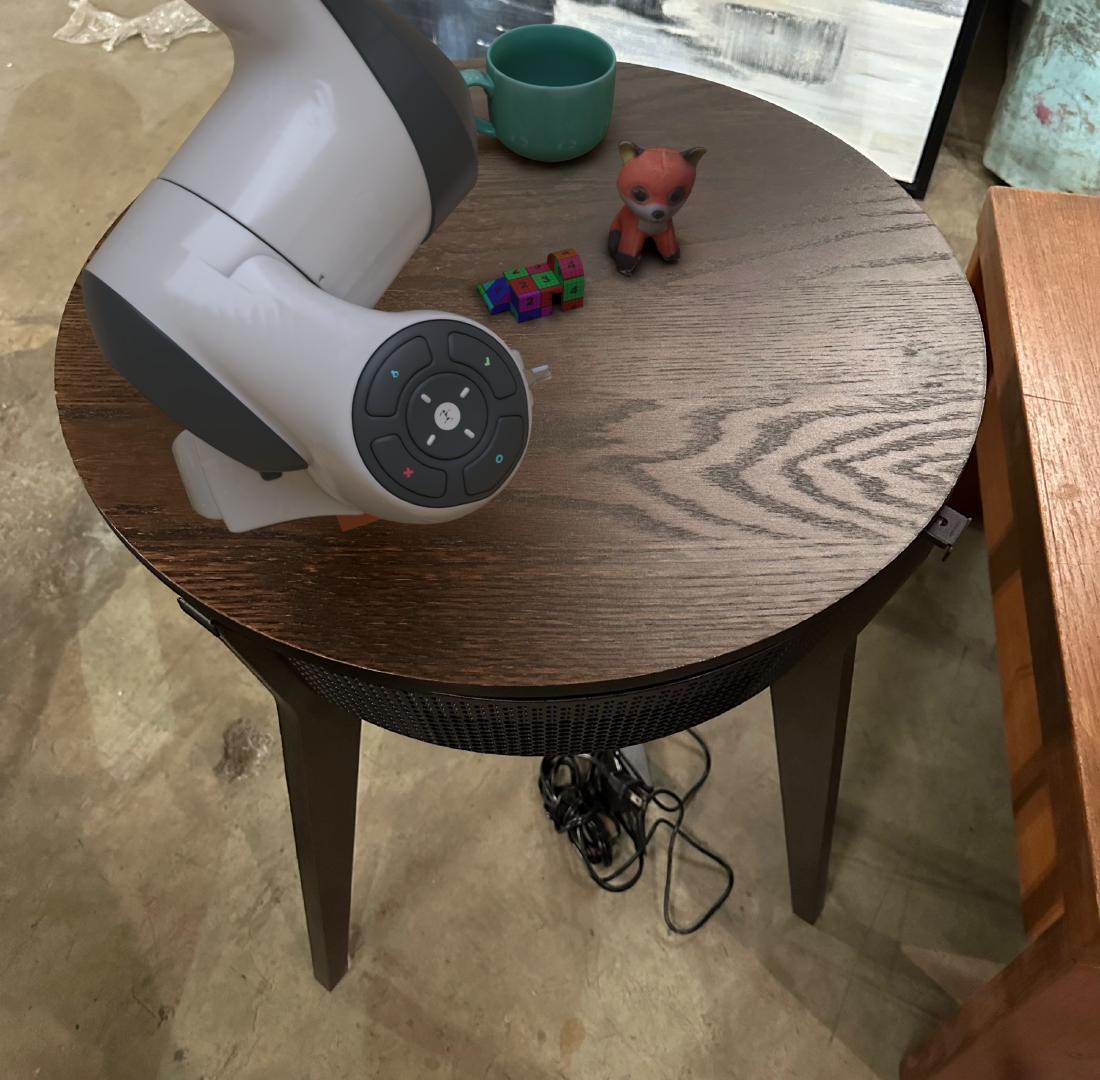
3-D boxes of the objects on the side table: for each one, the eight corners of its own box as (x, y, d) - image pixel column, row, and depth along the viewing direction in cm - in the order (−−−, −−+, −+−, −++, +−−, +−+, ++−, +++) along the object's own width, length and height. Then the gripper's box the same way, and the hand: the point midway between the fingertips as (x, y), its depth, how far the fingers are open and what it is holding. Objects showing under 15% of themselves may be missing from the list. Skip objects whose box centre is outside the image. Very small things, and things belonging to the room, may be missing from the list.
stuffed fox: (675, 208, 101) (692, 92, 91) (694, 282, 94) (714, 165, 84) (599, 210, 100) (607, 93, 91) (612, 284, 93) (622, 166, 84)
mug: (593, 105, 112) (599, 17, 104) (623, 171, 104) (631, 81, 97) (442, 120, 109) (436, 31, 102) (462, 188, 102) (457, 98, 94)
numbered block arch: (559, 270, 95) (560, 228, 91) (582, 306, 92) (585, 264, 88) (477, 290, 93) (475, 248, 89) (499, 327, 90) (498, 286, 86)
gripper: (545, 310, 55) (479, 336, 68) (155, 420, 49) (165, 425, 62) (577, 425, 56) (506, 428, 69) (200, 545, 50) (200, 524, 63)
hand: (342, 428), depth 65 cm, fingers closed on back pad, 4 cm apart
